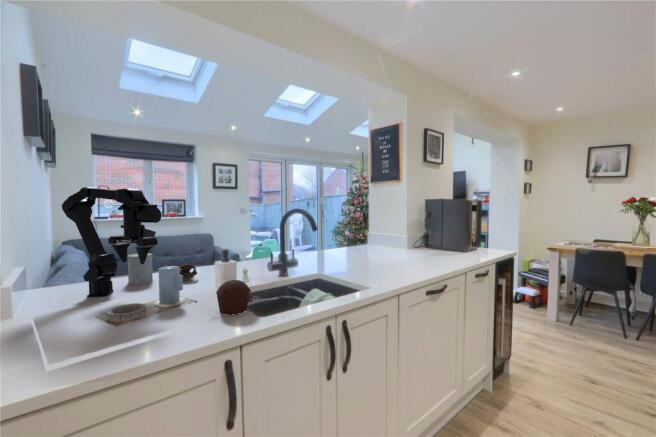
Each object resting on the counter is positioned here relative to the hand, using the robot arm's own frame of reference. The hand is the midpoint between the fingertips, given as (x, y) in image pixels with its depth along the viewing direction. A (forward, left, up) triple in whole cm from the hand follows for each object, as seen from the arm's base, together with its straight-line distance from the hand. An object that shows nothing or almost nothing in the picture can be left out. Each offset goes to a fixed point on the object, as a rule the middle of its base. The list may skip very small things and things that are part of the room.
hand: (133, 263), depth 114 cm
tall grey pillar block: (-6, +24, -13) cm, 28 cm away
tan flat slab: (+11, -18, -13) cm, 24 cm away
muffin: (+38, -22, -13) cm, 46 cm away
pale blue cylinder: (+17, -13, -12) cm, 24 cm away
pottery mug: (+12, +24, -13) cm, 30 cm away
